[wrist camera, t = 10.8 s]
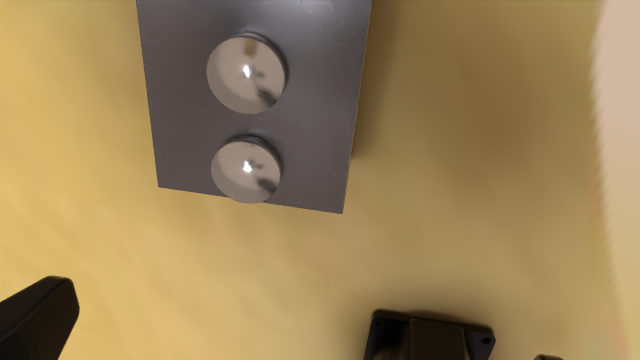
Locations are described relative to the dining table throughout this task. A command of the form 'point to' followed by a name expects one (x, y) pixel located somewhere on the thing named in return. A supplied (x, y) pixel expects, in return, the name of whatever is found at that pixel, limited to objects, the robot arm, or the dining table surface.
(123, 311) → the dining table surface
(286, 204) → the chain ends
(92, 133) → the dining table surface
